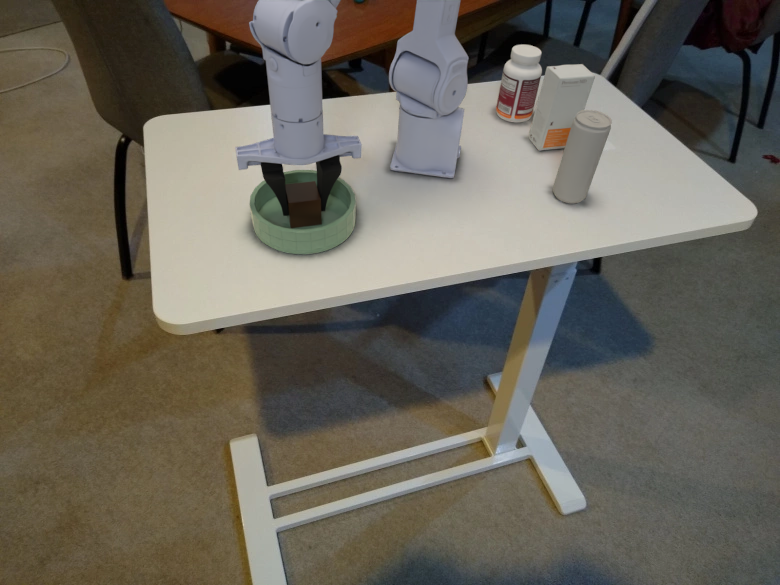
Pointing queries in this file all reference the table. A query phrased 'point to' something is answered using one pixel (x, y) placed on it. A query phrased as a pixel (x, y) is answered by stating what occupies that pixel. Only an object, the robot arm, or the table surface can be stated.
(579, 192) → the beverage can
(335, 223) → the bowl
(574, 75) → the cosmetic box
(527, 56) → the pill bottle
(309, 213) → the block
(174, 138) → the table surface
